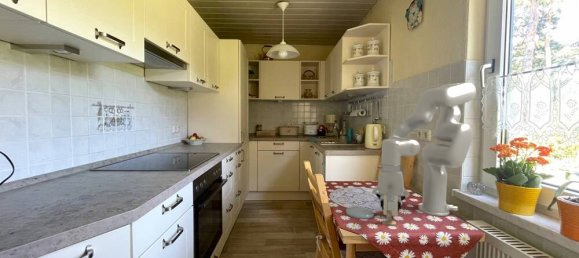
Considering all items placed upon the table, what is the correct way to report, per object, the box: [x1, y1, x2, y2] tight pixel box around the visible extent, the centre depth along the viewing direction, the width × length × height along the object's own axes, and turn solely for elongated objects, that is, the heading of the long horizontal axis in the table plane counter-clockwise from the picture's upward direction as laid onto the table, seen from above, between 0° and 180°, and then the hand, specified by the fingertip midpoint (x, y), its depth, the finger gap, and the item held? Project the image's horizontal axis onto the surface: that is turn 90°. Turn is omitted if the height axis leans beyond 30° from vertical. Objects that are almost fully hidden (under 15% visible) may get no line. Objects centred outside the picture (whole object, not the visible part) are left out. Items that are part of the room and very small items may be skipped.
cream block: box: [383, 195, 399, 217], centre depth 114 cm, size 6×6×9 cm
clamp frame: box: [381, 209, 397, 227], centre depth 113 cm, size 5×17×10 cm, turn 161°
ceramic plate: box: [345, 206, 375, 220], centre depth 118 cm, size 12×12×1 cm
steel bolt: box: [387, 190, 395, 211], centre depth 99 cm, size 2×16×3 cm, turn 161°
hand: (390, 209), depth 114 cm, fingers closed on cream block, 5 cm apart
